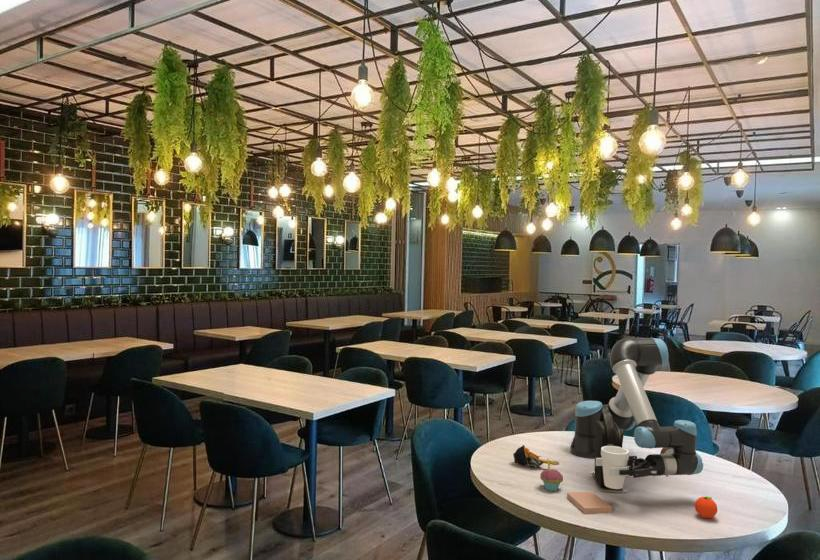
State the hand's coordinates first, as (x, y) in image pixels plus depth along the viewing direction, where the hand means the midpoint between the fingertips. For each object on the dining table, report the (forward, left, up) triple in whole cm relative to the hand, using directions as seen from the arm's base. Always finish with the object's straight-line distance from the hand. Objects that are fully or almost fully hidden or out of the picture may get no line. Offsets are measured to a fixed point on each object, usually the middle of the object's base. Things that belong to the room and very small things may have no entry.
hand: (602, 466), depth 205 cm
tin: (+9, +65, -14) cm, 67 cm away
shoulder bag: (-7, +23, -14) cm, 28 cm away
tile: (0, 0, -13) cm, 13 cm away
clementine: (+31, +15, -14) cm, 37 cm away
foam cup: (+3, +3, -7) cm, 8 cm away
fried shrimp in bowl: (-36, +18, -14) cm, 43 cm away
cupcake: (-20, +1, -14) cm, 24 cm away
